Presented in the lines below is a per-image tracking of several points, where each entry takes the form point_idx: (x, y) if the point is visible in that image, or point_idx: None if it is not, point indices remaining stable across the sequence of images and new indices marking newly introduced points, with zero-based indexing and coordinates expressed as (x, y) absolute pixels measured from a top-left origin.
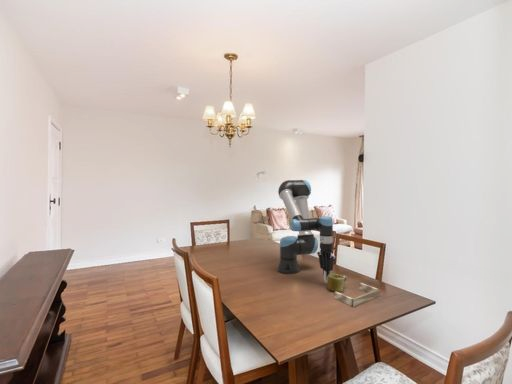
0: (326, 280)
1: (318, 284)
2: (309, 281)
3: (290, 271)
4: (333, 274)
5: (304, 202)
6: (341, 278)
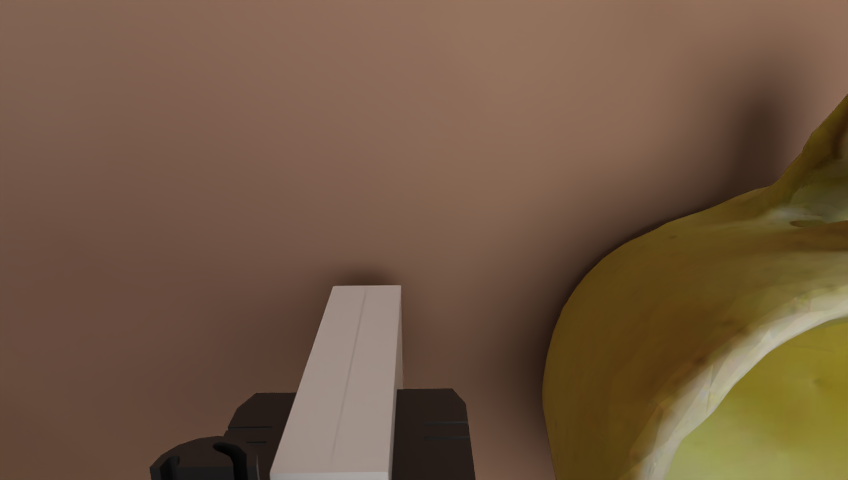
0: (402, 388)
1: None
2: (34, 472)
3: None
4: (673, 450)
5: None
6: None
